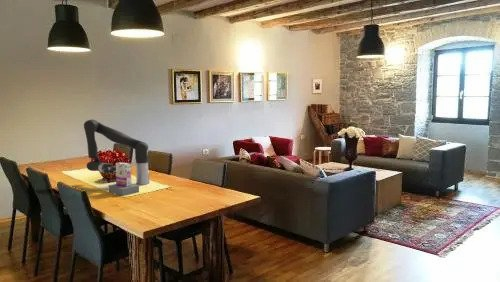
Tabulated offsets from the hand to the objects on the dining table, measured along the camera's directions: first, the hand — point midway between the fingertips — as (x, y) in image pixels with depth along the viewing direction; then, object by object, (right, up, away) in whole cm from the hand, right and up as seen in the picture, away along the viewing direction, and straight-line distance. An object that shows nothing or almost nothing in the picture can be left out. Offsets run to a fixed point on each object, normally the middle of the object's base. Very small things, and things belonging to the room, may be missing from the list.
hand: (118, 170), depth 286 cm
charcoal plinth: (+5, -15, -2) cm, 16 cm away
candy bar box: (+5, -11, -2) cm, 12 cm away
